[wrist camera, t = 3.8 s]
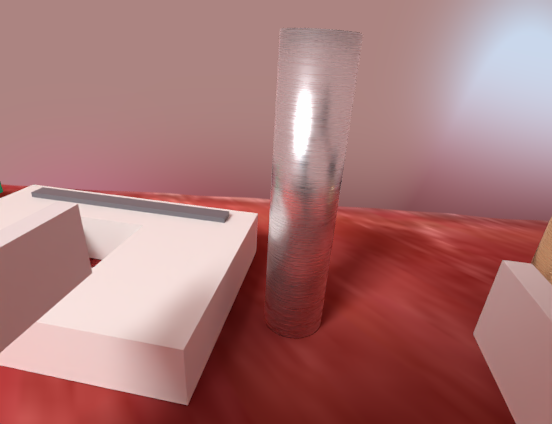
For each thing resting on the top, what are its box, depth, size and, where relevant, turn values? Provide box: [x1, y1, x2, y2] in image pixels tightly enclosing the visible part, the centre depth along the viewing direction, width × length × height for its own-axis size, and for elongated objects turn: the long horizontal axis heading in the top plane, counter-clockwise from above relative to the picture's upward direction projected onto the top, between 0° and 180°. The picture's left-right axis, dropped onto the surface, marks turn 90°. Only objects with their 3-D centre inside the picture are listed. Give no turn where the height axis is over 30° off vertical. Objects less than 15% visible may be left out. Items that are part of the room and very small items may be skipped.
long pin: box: [264, 28, 363, 338], centre depth 18 cm, size 4×4×16 cm
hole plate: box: [0, 185, 258, 405], centre depth 23 cm, size 20×14×4 cm
